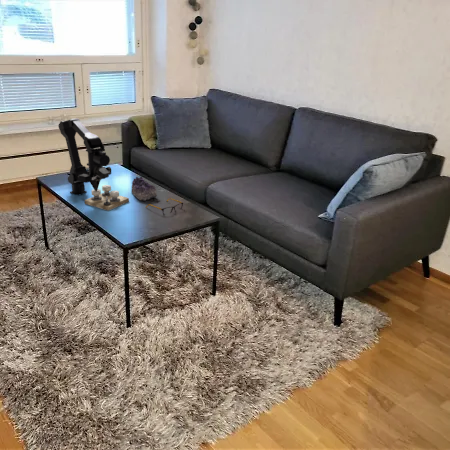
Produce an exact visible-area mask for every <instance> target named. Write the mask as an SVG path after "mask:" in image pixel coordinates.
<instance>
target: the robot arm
mask: <svg viewBox="0 0 450 450" xmlns="http://www.w3.org/2000/svg"><path fill="white" fill-rule="evenodd" d="M58 129H59V132H60V134H61V136H63V137H64V139H65V141H66V142H65V143H66V147H67V151H68V155H69V159H70V163H71V166H70V169H69V172H70V173H69V175H68V178H67V182H68V183H69V184H71V191H69V193H70V194H72V195H77V196H80V195H83V194H86V193H87V190H86V188H85V187H86V186H85V183H90V185H91V187H92V188H93V189H94V190H95V191H97V190H98V189H99V186H100V183H101V181H102V180H106V178H107V179H108V178H109V177H110V175H112V167H111V166H108V165H109V164H110V161H111V158H110V157H109V155H108V154H107V152H106V149H105V146H104V144H103V142H102V139H101V138H100V137H99V136H98V135H97V134H95V133H92V132H90V131H89V129H88V128H86V126H85V125H84V124H83V122H81V120H80V118H70V119H68V120H62V121H59V124H58ZM76 134H78V136H80V138H81V139H82V141H83V145H84V146H85V148H86V149H85V152H86V153H87V161H88V162H87V163H86V165H83V163H82V162H81V158H80V153H79V149H78V145H77V140H76ZM86 166H88V170H87V167H86Z"/></svg>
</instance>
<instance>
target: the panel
mask: <svg viewBox="0 0 450 450" xmlns="http://www.w3.org/2000/svg"><path fill="white" fill-rule="evenodd" d="M110 192H111V191H109V194H104V192H101V195H99V198H98V199H95V198H94V196H92V197H89V198H87V199H84V204H85V205H89V206H91V207H94V208H98V209H101V210H105V211H111V210H113V209H116V208H117V207H120V206H122V205H125V204H127V203H129V202H130V198H129V197H128V196H127V197H126V196H122V195H119V196H118V197H117V200H112V197H111V196H110ZM106 197H108V202H110V203H111V205H108V206H106V205H104V202H106Z"/></svg>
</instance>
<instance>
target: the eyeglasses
mask: <svg viewBox="0 0 450 450" xmlns="http://www.w3.org/2000/svg"><path fill="white" fill-rule="evenodd" d="M169 200H172V201H175V202H177V203H178V204H175V205H174V206H167V207H164V208H162V207H158V206H156V205H154V204H151V203H150V204H147V205H146V206H145V208H148V207H149V206H151V207H154V208H156V209H158V210H160V211H162V214H163V215H165V213H164V211H165V209H168V208H171V209H170V212H169V213H170V214H171V213H172V212H173V210H174V211H176V207H177V206H179V205H181V207H180V210H182V208H183V206H184V202H182V201H180V200H177V199H174V198H168V199H167V200H166V201H167V202H169Z"/></svg>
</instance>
